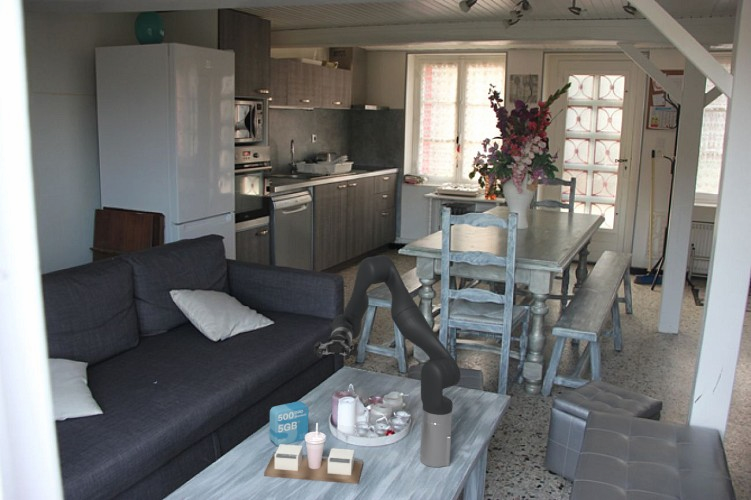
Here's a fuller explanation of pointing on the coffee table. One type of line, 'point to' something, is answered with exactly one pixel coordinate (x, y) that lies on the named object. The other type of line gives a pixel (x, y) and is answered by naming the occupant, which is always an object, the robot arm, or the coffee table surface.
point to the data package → (288, 423)
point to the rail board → (332, 469)
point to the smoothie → (315, 448)
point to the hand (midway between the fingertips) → (332, 356)
